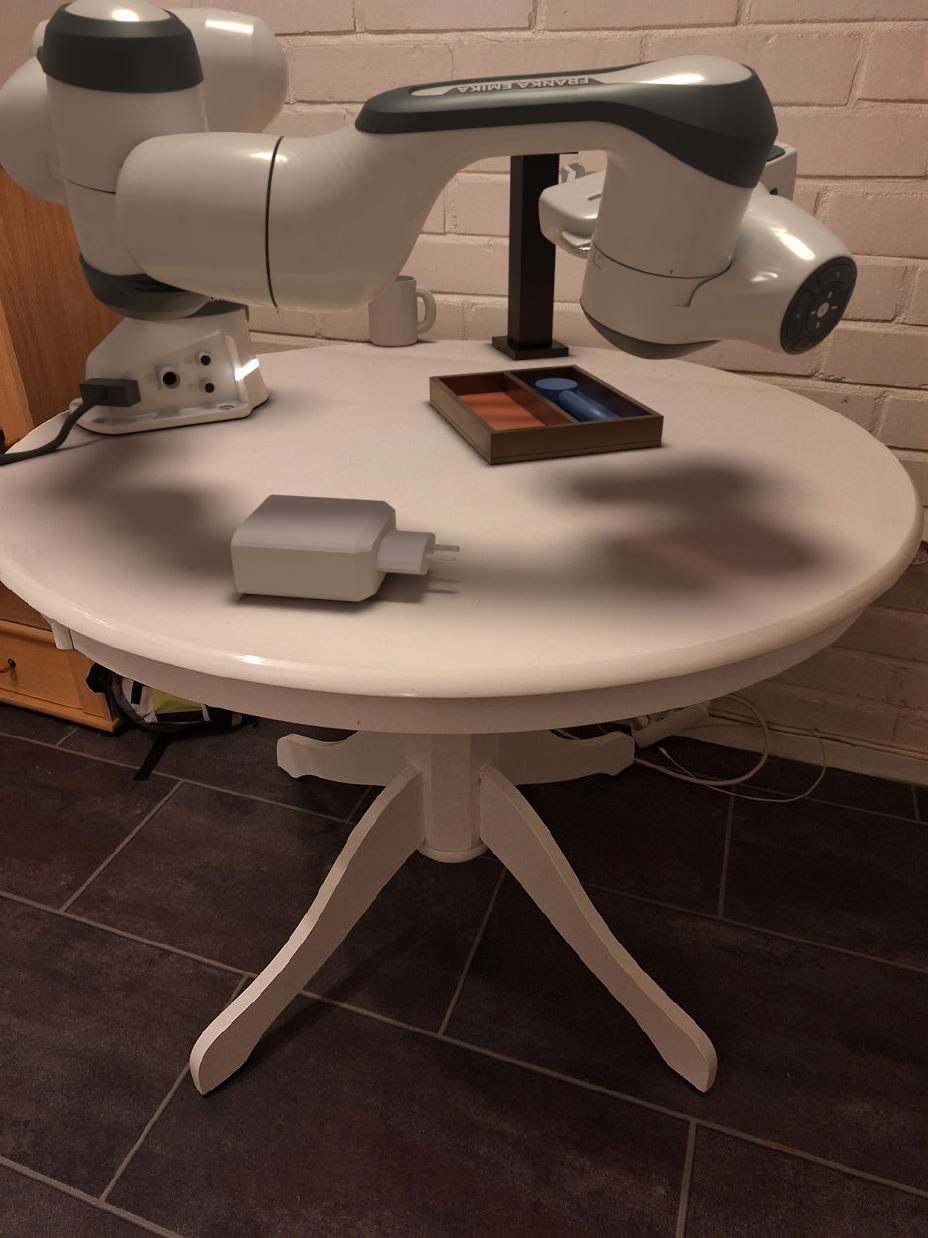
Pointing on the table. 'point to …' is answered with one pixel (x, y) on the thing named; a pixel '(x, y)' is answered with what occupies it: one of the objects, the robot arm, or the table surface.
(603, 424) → the sorting tray
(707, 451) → the table surface
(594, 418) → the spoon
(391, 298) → the cup
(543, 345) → the spoon stand
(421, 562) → the charger
